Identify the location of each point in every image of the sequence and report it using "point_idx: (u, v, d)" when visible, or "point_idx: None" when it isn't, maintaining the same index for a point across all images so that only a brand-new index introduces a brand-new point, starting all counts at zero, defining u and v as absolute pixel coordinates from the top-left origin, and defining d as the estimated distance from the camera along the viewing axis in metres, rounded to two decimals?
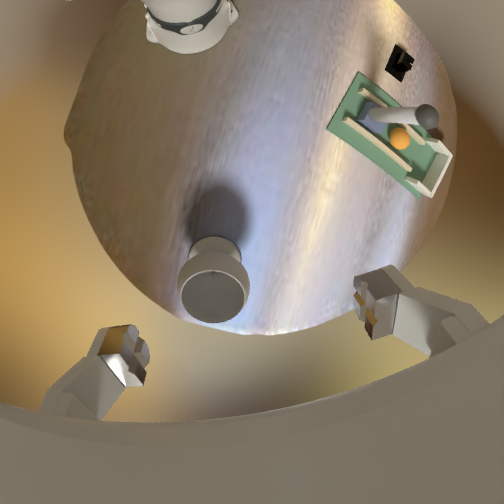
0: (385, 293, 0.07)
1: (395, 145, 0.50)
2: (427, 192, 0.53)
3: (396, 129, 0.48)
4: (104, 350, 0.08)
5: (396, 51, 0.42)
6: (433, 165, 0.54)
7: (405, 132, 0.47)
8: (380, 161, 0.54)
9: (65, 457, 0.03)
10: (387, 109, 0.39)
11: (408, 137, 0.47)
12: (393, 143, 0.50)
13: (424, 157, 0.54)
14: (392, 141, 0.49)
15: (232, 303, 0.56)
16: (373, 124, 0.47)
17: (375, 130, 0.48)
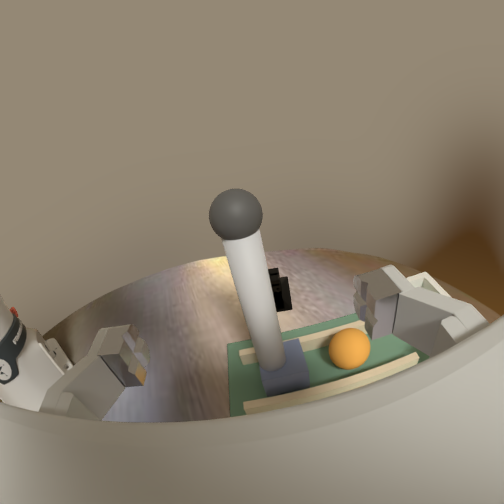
0: (385, 293, 0.07)
1: (351, 360, 0.26)
2: None
3: (329, 344, 0.30)
4: (104, 349, 0.08)
5: None
6: None
7: (341, 330, 0.29)
8: None
9: (65, 457, 0.03)
10: None
11: (351, 329, 0.29)
12: (346, 362, 0.27)
13: None
14: (342, 362, 0.27)
15: None
16: (282, 373, 0.26)
17: (299, 378, 0.26)
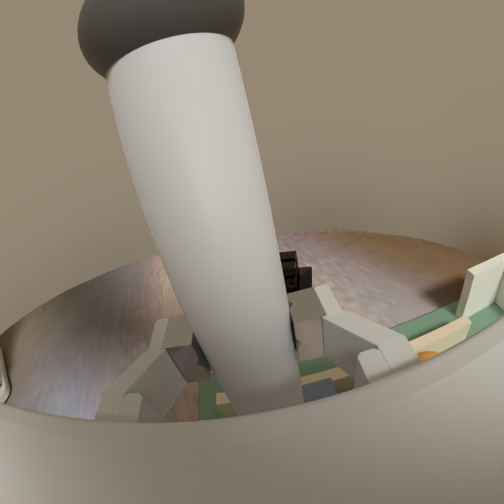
0: (307, 316, 0.07)
1: None
2: None
3: None
4: (171, 341, 0.08)
5: None
6: None
7: None
8: None
9: (65, 457, 0.03)
10: None
11: (431, 355, 0.12)
12: None
13: None
14: None
15: None
16: None
17: None
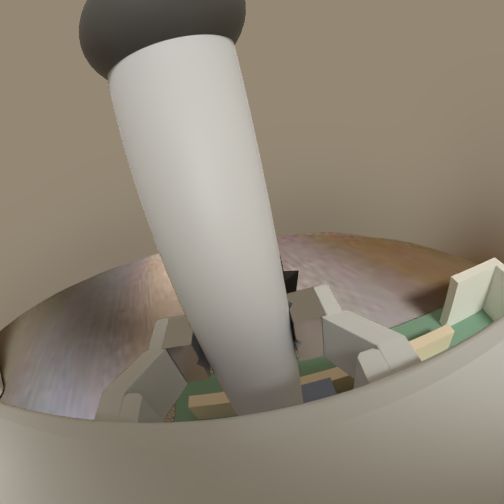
0: (307, 316, 0.07)
1: None
2: None
3: None
4: (171, 341, 0.08)
5: None
6: None
7: None
8: None
9: (65, 457, 0.03)
10: None
11: None
12: None
13: None
14: None
15: None
16: None
17: None
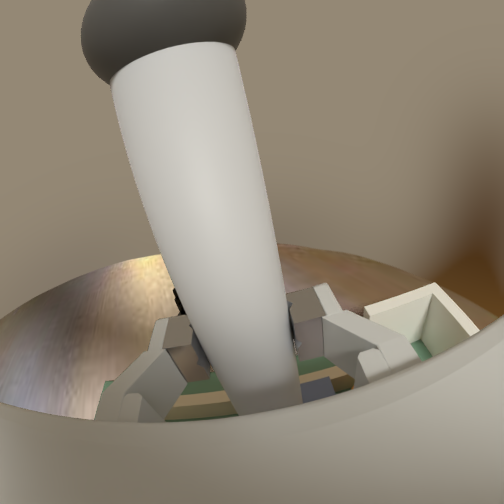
0: (307, 316, 0.07)
1: None
2: None
3: None
4: (171, 341, 0.08)
5: None
6: None
7: None
8: None
9: (65, 457, 0.03)
10: None
11: None
12: None
13: None
14: None
15: None
16: None
17: None
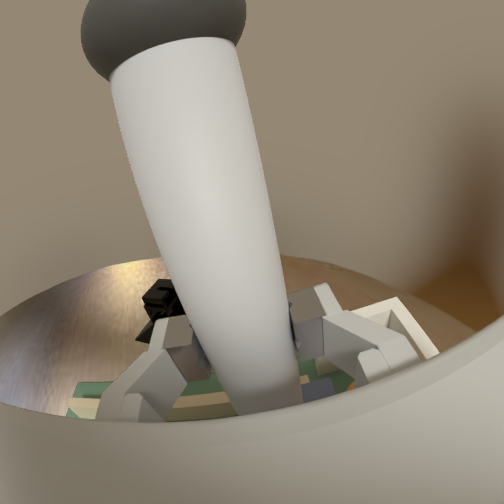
0: (307, 316, 0.07)
1: None
2: None
3: None
4: (171, 341, 0.08)
5: None
6: None
7: None
8: None
9: (65, 457, 0.03)
10: None
11: None
12: None
13: None
14: None
15: None
16: None
17: None
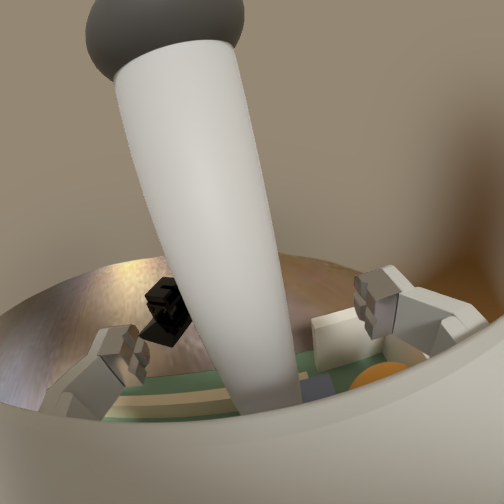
0: (385, 293, 0.07)
1: None
2: None
3: None
4: (105, 349, 0.08)
5: None
6: None
7: None
8: None
9: (65, 457, 0.03)
10: None
11: None
12: None
13: None
14: None
15: None
16: None
17: None
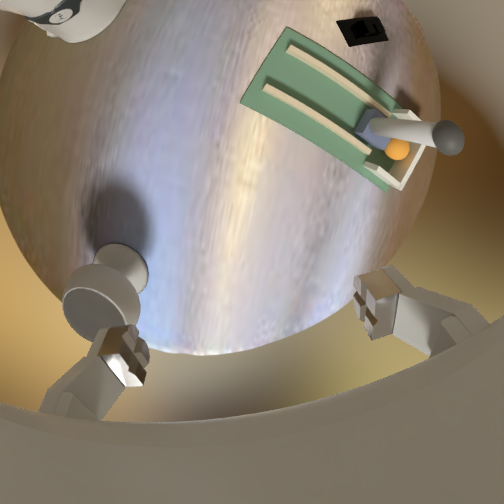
0: (385, 293, 0.07)
1: None
2: (394, 182, 0.40)
3: None
4: (105, 349, 0.08)
5: None
6: None
7: None
8: (323, 141, 0.41)
9: (65, 457, 0.03)
10: (393, 122, 0.30)
11: None
12: (387, 154, 0.42)
13: None
14: None
15: None
16: (374, 138, 0.38)
17: (377, 145, 0.39)
